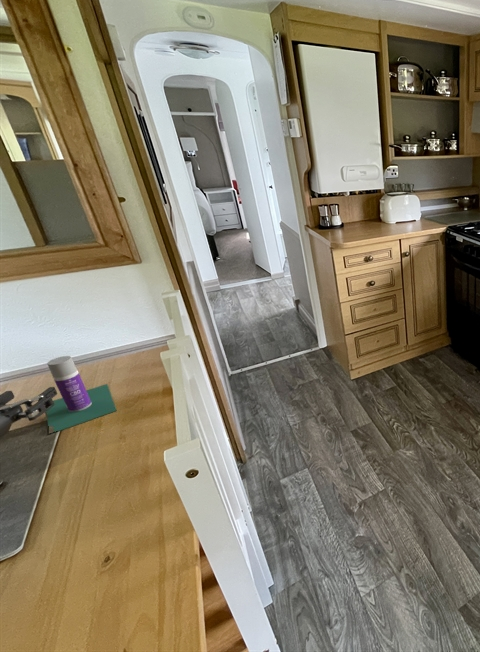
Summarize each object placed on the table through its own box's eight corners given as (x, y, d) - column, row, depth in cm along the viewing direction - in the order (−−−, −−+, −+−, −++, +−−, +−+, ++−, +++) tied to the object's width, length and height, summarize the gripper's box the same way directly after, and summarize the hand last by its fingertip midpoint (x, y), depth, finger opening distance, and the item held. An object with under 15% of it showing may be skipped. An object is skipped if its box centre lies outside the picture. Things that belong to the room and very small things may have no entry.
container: (79, 412, 102) (57, 365, 97) (63, 411, 103) (41, 364, 97) (96, 402, 107) (76, 356, 101) (81, 400, 107) (61, 355, 101)
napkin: (116, 410, 104) (116, 410, 104) (49, 434, 95) (48, 433, 95) (107, 384, 115) (106, 383, 115) (45, 403, 106) (45, 403, 106)
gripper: (2, 419, 77) (62, 375, 91) (-88, 428, 74) (-11, 381, 88) (18, 447, 79) (73, 401, 94) (-68, 457, 76) (3, 407, 91)
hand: (32, 391), depth 91 cm, fingers open, 8 cm apart
